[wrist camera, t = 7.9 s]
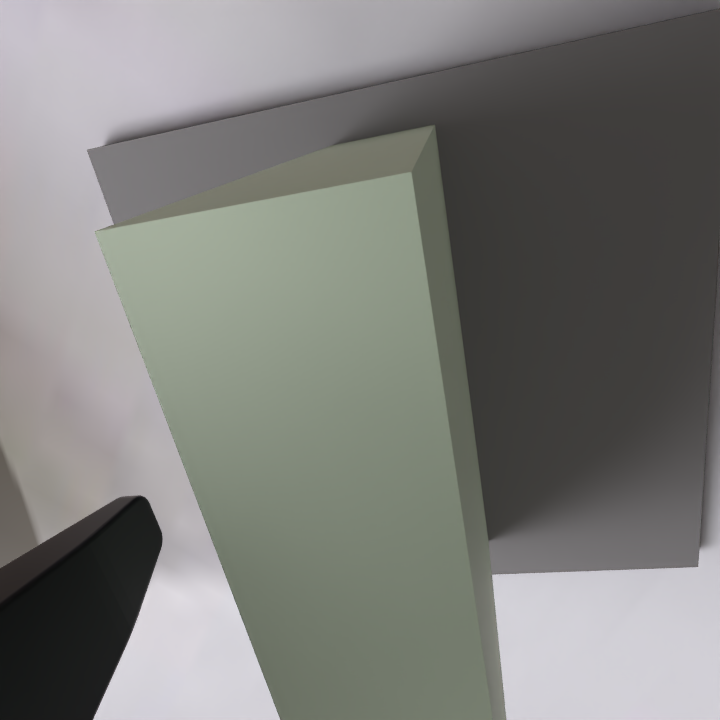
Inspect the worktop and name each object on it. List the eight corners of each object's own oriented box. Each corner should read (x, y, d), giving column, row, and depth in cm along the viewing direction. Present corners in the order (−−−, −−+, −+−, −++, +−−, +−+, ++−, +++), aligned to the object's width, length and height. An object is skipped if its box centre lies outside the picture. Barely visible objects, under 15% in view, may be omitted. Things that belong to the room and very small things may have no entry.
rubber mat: (720, 9, 9) (735, 5, 9) (690, 552, 14) (698, 566, 14) (100, 148, 12) (87, 149, 11) (250, 570, 16) (245, 583, 16)
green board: (434, 124, 10) (412, 171, 3) (488, 540, 14) (533, 993, 7) (331, 145, 11) (94, 232, 3) (411, 544, 15) (378, 977, 7)
